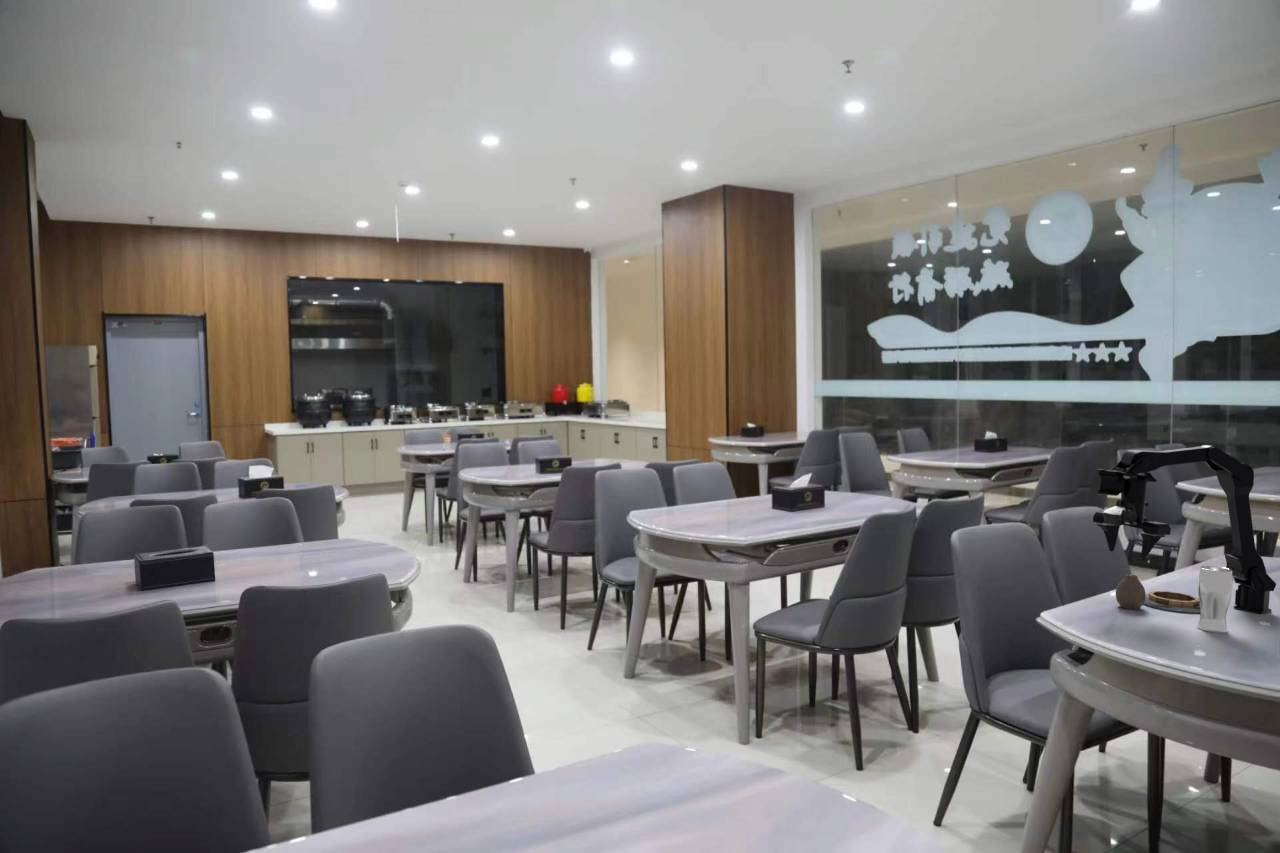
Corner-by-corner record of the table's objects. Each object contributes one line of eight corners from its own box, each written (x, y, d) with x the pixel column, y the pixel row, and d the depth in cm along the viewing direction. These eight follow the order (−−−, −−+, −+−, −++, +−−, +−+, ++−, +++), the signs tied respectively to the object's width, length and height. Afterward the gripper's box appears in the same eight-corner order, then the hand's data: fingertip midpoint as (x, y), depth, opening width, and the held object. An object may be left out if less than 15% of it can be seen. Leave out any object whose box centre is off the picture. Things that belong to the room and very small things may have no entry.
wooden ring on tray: (1223, 608, 228) (1224, 599, 228) (1190, 616, 219) (1191, 607, 219) (1157, 593, 243) (1158, 585, 242) (1124, 600, 234) (1124, 592, 234)
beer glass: (1219, 626, 211) (1223, 566, 210) (1235, 634, 204) (1239, 572, 203) (1189, 624, 212) (1193, 564, 211) (1205, 632, 205) (1209, 571, 204)
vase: (1115, 608, 226) (1117, 575, 225) (1114, 602, 232) (1116, 570, 231) (1145, 612, 222) (1147, 579, 222) (1144, 606, 228) (1145, 574, 228)
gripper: (1081, 491, 233) (1075, 548, 234) (1146, 503, 216) (1139, 563, 217) (1109, 491, 237) (1103, 547, 238) (1175, 503, 220) (1168, 562, 221)
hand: (1127, 555), depth 228 cm, fingers open, 9 cm apart
